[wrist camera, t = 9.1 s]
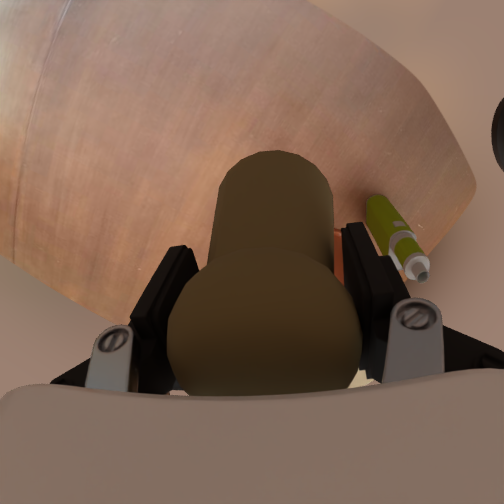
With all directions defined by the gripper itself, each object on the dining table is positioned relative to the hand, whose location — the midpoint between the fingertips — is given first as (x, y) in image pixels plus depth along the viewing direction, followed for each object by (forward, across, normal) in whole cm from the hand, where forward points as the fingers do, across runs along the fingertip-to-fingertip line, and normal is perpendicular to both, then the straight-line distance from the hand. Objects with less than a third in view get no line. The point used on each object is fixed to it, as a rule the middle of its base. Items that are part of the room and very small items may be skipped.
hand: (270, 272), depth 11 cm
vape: (+37, -13, +15) cm, 43 cm away
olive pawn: (+6, 0, 0) cm, 6 cm away
